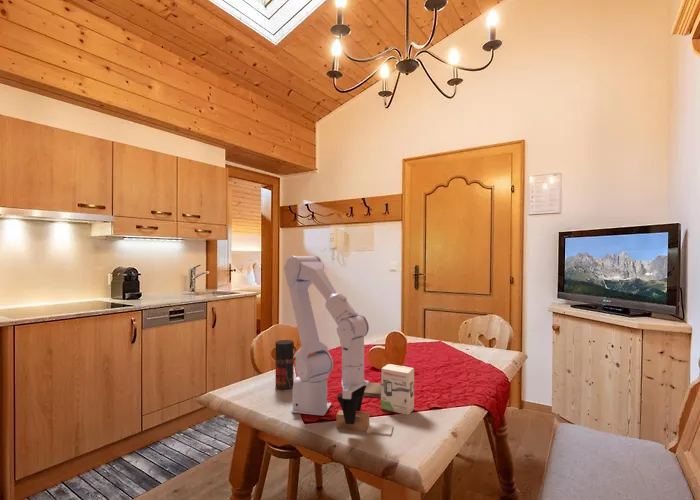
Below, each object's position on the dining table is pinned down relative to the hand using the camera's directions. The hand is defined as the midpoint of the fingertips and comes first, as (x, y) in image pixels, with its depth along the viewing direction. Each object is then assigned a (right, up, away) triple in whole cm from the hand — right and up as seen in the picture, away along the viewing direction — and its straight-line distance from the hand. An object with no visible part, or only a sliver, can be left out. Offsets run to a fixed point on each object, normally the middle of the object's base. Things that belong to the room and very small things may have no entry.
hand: (353, 416), depth 95 cm
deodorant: (-23, -3, +28) cm, 36 cm away
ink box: (+13, -3, +11) cm, 17 cm away
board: (+9, -3, +24) cm, 26 cm away
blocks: (+4, -3, -1) cm, 5 cm away
